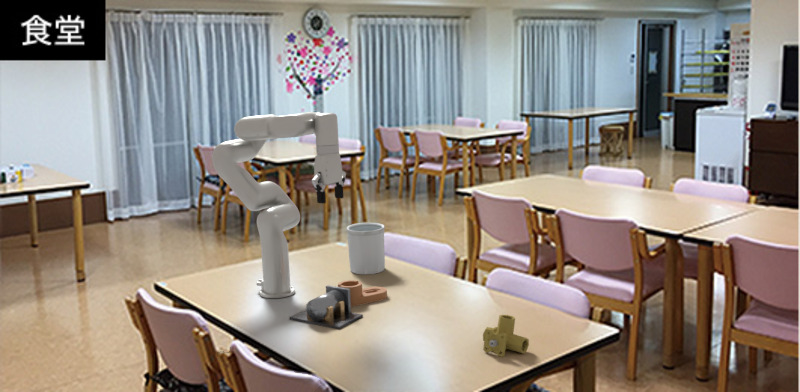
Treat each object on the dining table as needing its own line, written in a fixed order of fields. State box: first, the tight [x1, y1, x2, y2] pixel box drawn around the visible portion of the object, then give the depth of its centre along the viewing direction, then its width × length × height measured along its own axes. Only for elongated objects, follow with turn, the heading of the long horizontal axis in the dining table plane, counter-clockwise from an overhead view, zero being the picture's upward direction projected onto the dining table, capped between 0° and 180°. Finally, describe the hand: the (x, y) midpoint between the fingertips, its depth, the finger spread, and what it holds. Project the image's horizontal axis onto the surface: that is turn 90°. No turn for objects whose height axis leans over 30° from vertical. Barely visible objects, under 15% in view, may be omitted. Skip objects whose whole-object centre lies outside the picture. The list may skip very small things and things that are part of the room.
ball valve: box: [482, 314, 530, 358], centre depth 226 cm, size 13×10×10 cm
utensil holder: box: [346, 222, 386, 275], centre depth 313 cm, size 15×15×18 cm
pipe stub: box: [288, 284, 364, 330], centre depth 259 cm, size 20×14×8 cm
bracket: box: [337, 279, 388, 307], centre depth 276 cm, size 18×8×7 cm, turn 121°
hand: (330, 200), depth 269 cm, fingers open, 9 cm apart
